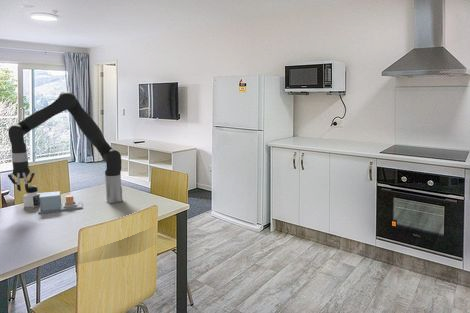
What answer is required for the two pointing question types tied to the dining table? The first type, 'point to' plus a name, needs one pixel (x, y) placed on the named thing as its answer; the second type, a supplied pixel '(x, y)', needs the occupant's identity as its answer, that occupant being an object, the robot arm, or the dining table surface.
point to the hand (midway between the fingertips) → (23, 190)
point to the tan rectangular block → (69, 200)
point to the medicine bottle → (31, 197)
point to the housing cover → (50, 201)
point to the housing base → (65, 207)
